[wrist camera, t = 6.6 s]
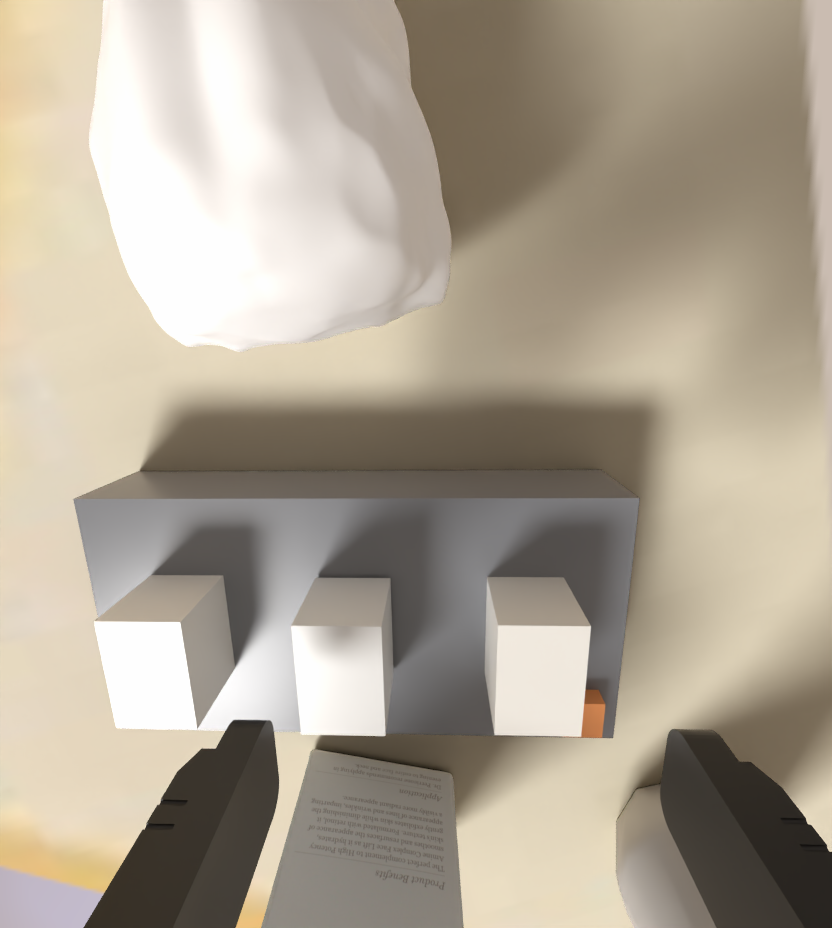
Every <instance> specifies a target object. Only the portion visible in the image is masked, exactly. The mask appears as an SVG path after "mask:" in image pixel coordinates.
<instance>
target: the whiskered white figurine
mask: <svg viewBox="0 0 832 928" xmlns="http://www.w3.org/2000/svg"><path fill="white" fill-rule="evenodd" d="M89 146H90V152H91V156H92V159H93V162H94V165H95V168H96V171H97V175H98V178H99V182H100V185H101V189H102V192H103V196H104V199H105V203H106V206H107V208H108V211H109V216H110V220H111V225H112V228H113V232H114V235H115V238H116V241H117V244H118V247H119V251H120V253H121V256H122V259H123V262H124V264H125V267H126V269H127V272H128V274H129V276H130V278H131V280H132V282H133V284H134V286H135V287H136V289H137V291H138V292H139V294H140V295H141V297H142V298H143V300H144V301H145V302H146V304H147V305H148V306H149V308H150V311H151V313H152V315H153V317H154V319H155V320H156V321H157V323H158V324H159V325H160V326H161V327H162V328H163V329H164V331H165V332H167V333H168V334H169V335H170V336H171V337H173V338H174V339H176V340H177V341H179V342H180V343H182V344H183V345H185V346H188V347H195V346H202V345H219V346H224V347H226V348H229V349H231V350H234V351H238V352H243V351H246V350H249V349H251V348H254V347H259V346H267V345H273V344H288V343H307V342H315V341H319V340H323V339H326V338H330V337H333V336H336V335H339V334H343V333H346V332H350V331H354V330H358V329H363V328H368V327H380V326H383V325H385V324H387V323H389V322H391V321H393V320H395V319H398V318H400V317H401V316H403V315H405V314H407V313H409V312H412V311H414V310H417V309H420V308H424V307H429V306H435V305H438V304H440V303H442V302H443V300H444V298H445V295H446V291H447V287H448V282H449V276H450V255H451V232H450V226H449V221H448V217H447V213H446V210H445V207H444V204H443V199H442V191H441V180H440V173H439V168H438V162H437V157H436V152H435V148H434V145H433V141H432V138H431V134H430V131H429V129H428V126H427V123H426V121H425V118H424V116H423V113H422V111H421V109H420V106H419V104H418V102H417V99H416V97H415V95H414V92H413V90H412V87H411V75H410V59H409V47H408V40H407V34H406V30H405V26H404V22H403V20H402V17H401V15H400V12H399V10H398V8H397V6H396V4H395V2H394V0H103V20H102V37H101V46H100V53H99V60H98V69H97V81H96V92H95V100H94V107H93V112H92V117H91V122H90V130H89Z"/></svg>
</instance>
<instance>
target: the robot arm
mask: <svg viewBox="0 0 832 928" xmlns="http://www.w3.org/2000/svg"><path fill="white" fill-rule="evenodd" d="M278 791H279V774H278V765H277V756H276V747H275V738H274V729H273V724H272V722H271V721H270V720H233V721H232V722H231V723H230V724H229V726H228V727H227V729H226V731H225V733H224V735H223V737H222V738H221V740H220V742H219V744H218V746H217V748H216V749H201V750H200V751H199V752H198V753H197V754H196V755H195V756H194V757H192V758H191V759H190V760H189V761H188V762H187V763H186V764H185V765H184V766H183V767H182V768H181V769H180V770H179V771H178V772H177V774H176V775H175V777H174V778H173V780H172V782H171V783H170V785H169V787H168V788H167V790H166V792H165V793H164V795H163V797H162V798H161V803H160V805H157V807H156V808H155V810H154V812H153V813H152V815H151V817H150V818H149V820H148V822H147V823H146V824H147V825H146V828H145V830H142V832H141V833H140V835H139V837H138V838H137V840H136V842H135V843H134V845H133V847H132V848H131V850H130V852H129V853H128V855H127V857H126V858H125V860H124V861H123V863H122V865H121V866H120V868H119V870H118V871H117V873H116V875H115V876H114V878H113V880H112V881H111V883H110V885H109V886H108V888H107V890H106V891H105V893H104V895H103V896H102V898H101V900H100V901H99V903H98V905H97V906H96V908H95V910H94V911H93V913H92V915H91V916H90V918H89V920H88V921H87V923H86V925H85V926H84V928H235V927H236V924H237V922H238V919H239V916H240V913H241V910H242V907H243V904H244V901H245V898H246V895H247V892H248V889H249V886H250V883H251V881H252V878H253V875H254V872H255V869H256V866H257V863H258V860H259V857H260V854H261V851H262V848H263V845H264V843H265V840H266V837H267V834H268V831H269V828H270V825H271V822H272V819H273V816H274V813H275V809H276V804H277V799H278ZM660 800H661V806H662V811H663V815H664V818H665V821H666V824H667V826H668V829H669V831H670V833H671V835H672V837H673V839H674V841H675V843H676V845H677V847H678V849H679V852H680V854H681V856H682V858H683V860H684V862H685V864H686V866H687V868H688V870H689V872H690V874H691V876H692V878H693V880H694V882H695V885H696V887H697V889H698V891H699V893H700V895H701V897H702V899H703V901H704V903H705V905H706V907H707V909H708V911H709V913H710V916H711V918H712V920H713V922H714V924H715V926H716V928H832V852H829V851H828V849H827V845H826V843H825V842H824V841H823V840H822V838H821V837H820V836H819V834H818V833H817V832H816V831H815V829H814V828H813V827H812V826H811V825H808V824H807V822H806V818H805V817H804V815H803V814H802V813H801V812H800V810H799V809H798V808H797V806H796V805H795V804H794V803H793V801H792V800H791V799H790V798H789V796H788V795H787V794H786V792H785V791H784V790H783V789H782V787H780V786H779V785H778V784H777V783H775V782H774V781H773V780H772V779H771V778H769V777H768V776H767V775H766V774H764V773H763V772H762V771H761V770H760V769H758V768H757V767H756V766H755V765H753V764H752V763H751V762H739V761H738V760H737V758H736V757H735V756H734V754H733V753H732V752H731V750H730V749H729V747H728V746H727V745H726V743H725V742H724V741H723V739H722V738H721V737H720V736H719V735H718V734H717V733H716V732H715V731H713V730H684V729H672V730H671V731H670V732H669V734H668V738H667V745H666V752H665V759H664V766H663V772H662V779H661V786H660Z"/></svg>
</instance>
